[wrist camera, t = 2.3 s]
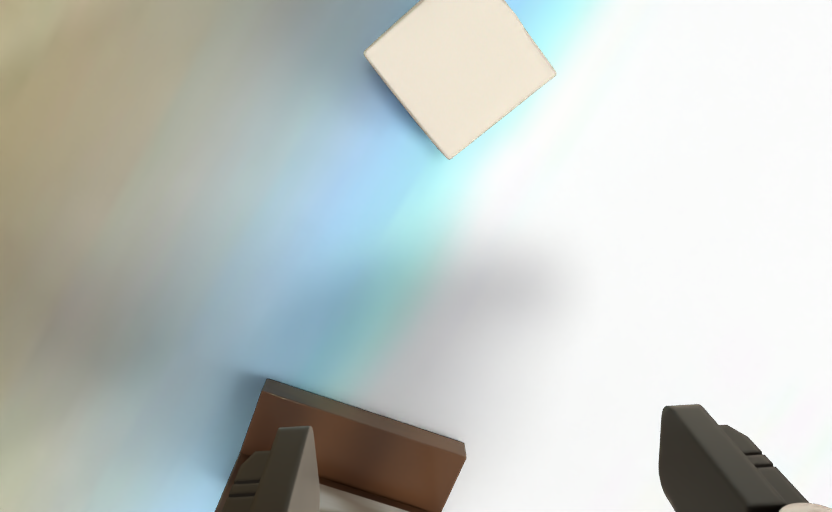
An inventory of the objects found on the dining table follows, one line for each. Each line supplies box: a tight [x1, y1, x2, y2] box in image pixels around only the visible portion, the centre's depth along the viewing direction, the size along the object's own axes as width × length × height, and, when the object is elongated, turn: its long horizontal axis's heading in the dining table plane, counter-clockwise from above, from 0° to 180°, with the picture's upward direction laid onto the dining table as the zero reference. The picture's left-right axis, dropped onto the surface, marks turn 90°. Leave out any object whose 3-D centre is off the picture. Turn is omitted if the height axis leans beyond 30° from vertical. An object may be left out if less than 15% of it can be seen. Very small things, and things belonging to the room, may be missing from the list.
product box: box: [364, 0, 556, 159], centre depth 31 cm, size 6×6×7 cm
